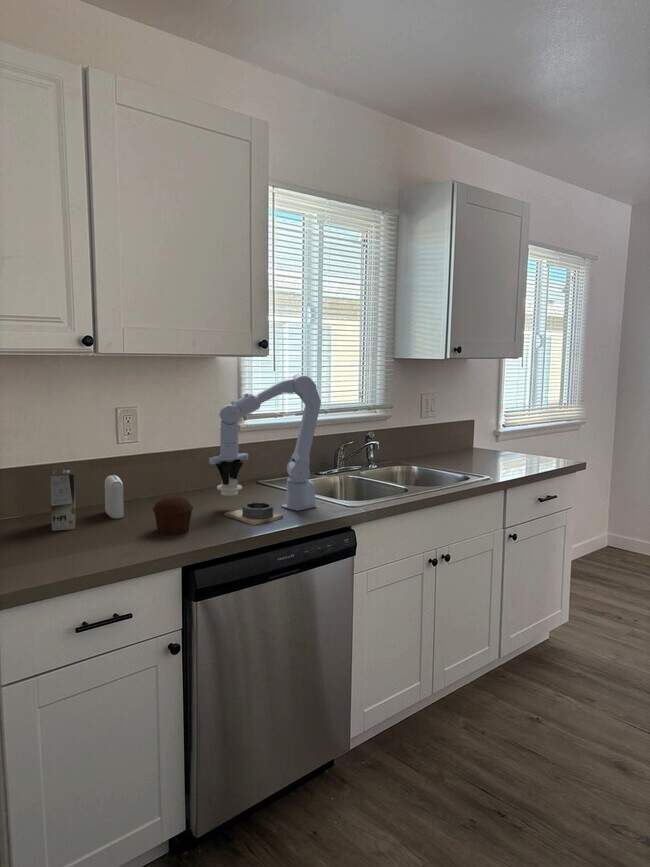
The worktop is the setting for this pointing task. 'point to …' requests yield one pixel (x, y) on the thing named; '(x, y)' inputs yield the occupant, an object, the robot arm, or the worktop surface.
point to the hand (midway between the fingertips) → (229, 483)
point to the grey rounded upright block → (114, 497)
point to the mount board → (239, 516)
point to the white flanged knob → (230, 487)
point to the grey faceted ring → (258, 510)
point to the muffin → (172, 514)
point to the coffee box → (62, 499)
